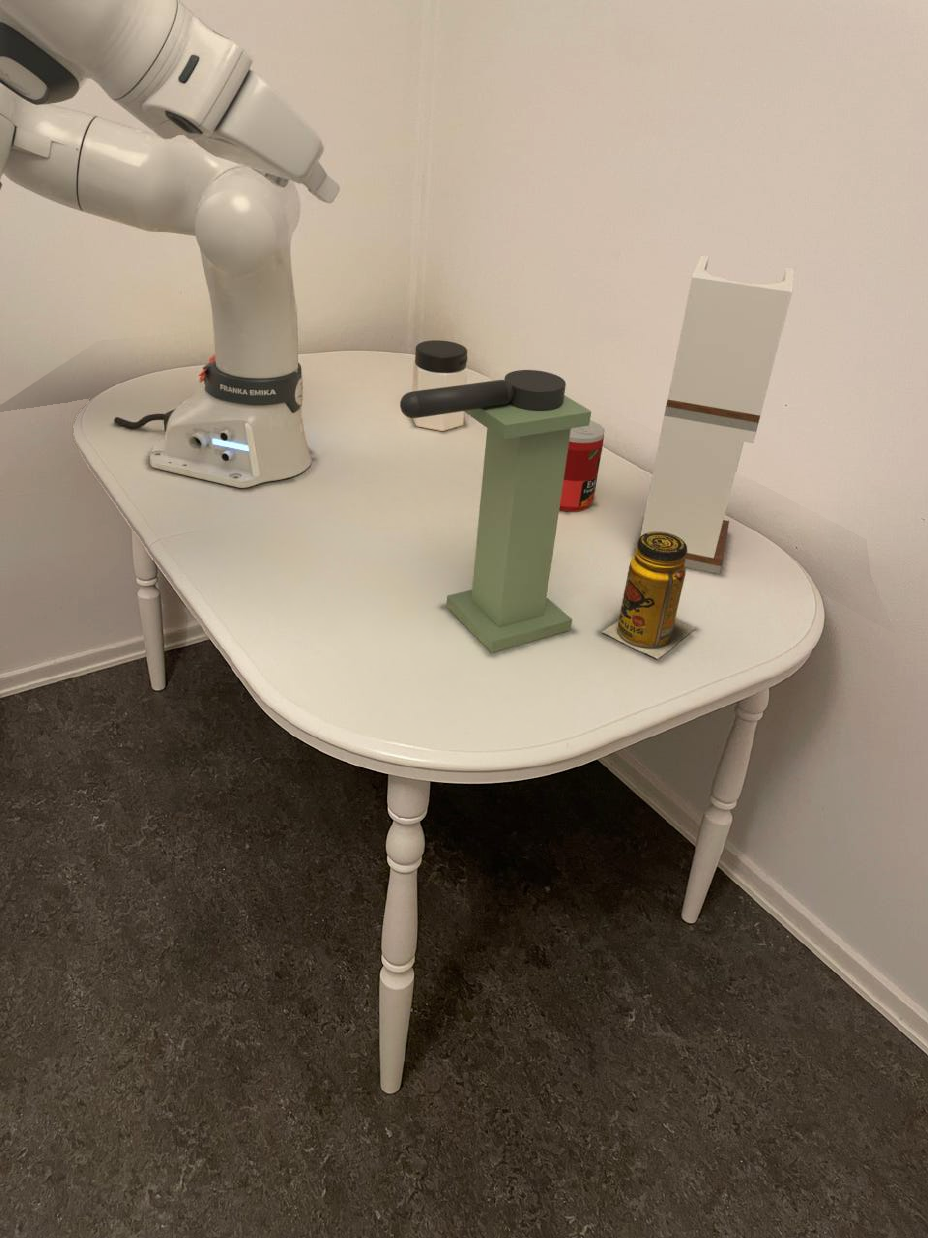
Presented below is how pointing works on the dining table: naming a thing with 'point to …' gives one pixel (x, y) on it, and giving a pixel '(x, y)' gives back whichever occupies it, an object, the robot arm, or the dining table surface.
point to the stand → (518, 525)
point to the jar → (439, 377)
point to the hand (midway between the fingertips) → (308, 187)
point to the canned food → (582, 467)
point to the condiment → (653, 596)
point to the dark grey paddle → (489, 395)
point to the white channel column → (713, 407)
